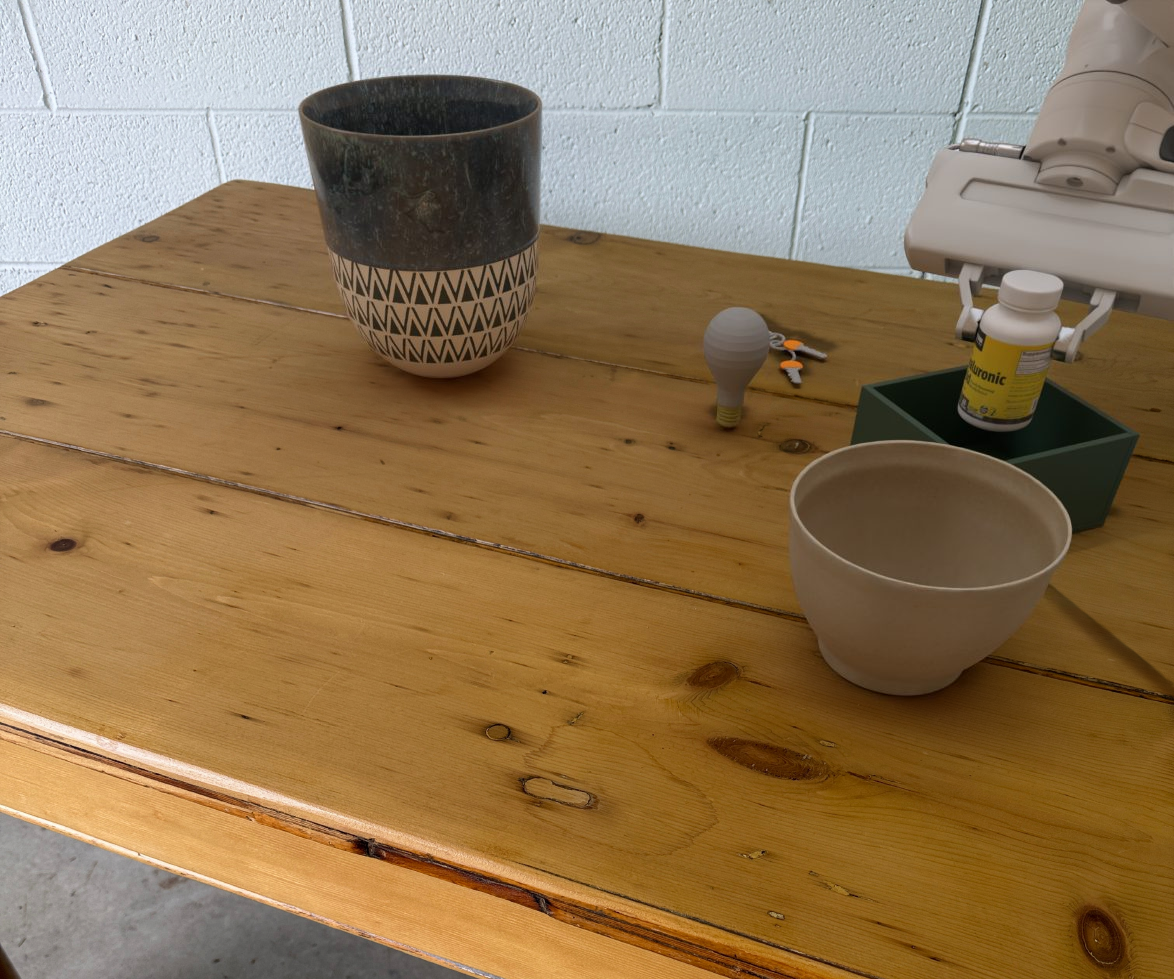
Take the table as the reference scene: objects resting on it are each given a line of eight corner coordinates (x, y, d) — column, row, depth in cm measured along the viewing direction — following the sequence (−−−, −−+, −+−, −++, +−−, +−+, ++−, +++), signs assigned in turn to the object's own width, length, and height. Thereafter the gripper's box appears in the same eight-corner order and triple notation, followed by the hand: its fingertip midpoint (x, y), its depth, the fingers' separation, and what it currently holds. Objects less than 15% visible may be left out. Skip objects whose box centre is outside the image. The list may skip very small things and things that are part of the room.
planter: (303, 393, 95) (250, 122, 80) (398, 313, 108) (367, 66, 93) (502, 427, 91) (486, 147, 76) (576, 339, 104) (575, 84, 89)
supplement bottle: (941, 405, 79) (977, 269, 72) (1004, 396, 81) (1044, 261, 74) (981, 439, 76) (1022, 299, 69) (1045, 428, 77) (1092, 290, 70)
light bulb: (763, 416, 93) (778, 300, 86) (753, 445, 89) (768, 326, 82) (702, 408, 94) (712, 292, 87) (690, 437, 90) (700, 318, 83)
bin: (986, 442, 90) (1011, 355, 84) (1103, 526, 80) (1140, 434, 75) (843, 474, 86) (861, 385, 80) (950, 565, 76) (977, 471, 71)
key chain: (702, 341, 103) (703, 332, 103) (757, 324, 107) (758, 315, 106) (793, 388, 96) (794, 379, 96) (849, 368, 99) (851, 359, 99)
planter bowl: (717, 651, 69) (734, 504, 62) (860, 556, 77) (891, 415, 70) (927, 775, 61) (977, 624, 54) (1062, 654, 69) (1123, 507, 62)
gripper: (942, 106, 74) (867, 296, 75) (1259, 150, 66) (1171, 360, 68) (944, 161, 80) (875, 337, 81) (1236, 208, 72) (1156, 399, 73)
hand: (1012, 348), depth 74 cm, fingers closed on supplement bottle, 5 cm apart
